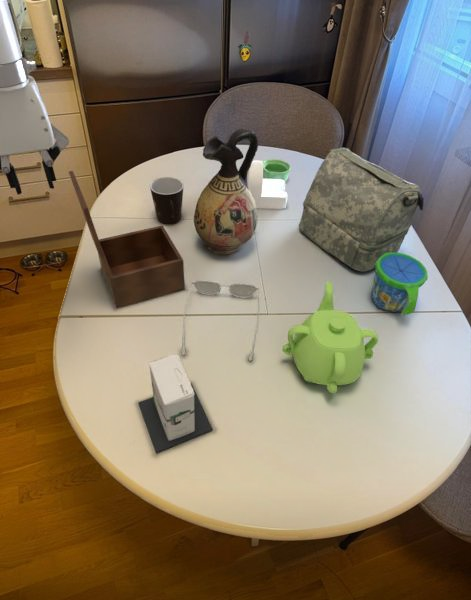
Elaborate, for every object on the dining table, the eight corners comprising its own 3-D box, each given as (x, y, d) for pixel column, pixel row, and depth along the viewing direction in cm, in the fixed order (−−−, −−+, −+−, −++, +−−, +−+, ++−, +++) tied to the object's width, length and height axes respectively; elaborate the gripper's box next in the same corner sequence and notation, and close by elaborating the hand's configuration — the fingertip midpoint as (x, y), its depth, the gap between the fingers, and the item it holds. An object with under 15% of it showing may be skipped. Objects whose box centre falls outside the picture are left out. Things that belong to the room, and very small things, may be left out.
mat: (156, 453, 68) (155, 452, 67) (138, 404, 74) (138, 402, 73) (212, 430, 71) (212, 428, 71) (191, 384, 77) (191, 382, 77)
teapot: (267, 351, 84) (274, 308, 75) (317, 321, 90) (329, 278, 81) (325, 410, 75) (340, 369, 66) (375, 372, 81) (396, 330, 72)
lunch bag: (409, 259, 107) (444, 182, 92) (359, 283, 99) (388, 204, 84) (339, 209, 122) (359, 135, 106) (291, 227, 114) (305, 150, 99)
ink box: (152, 400, 74) (146, 360, 66) (179, 390, 76) (176, 350, 67) (168, 442, 69) (163, 405, 60) (196, 431, 70) (195, 393, 62)
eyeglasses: (258, 297, 94) (260, 284, 91) (255, 362, 82) (257, 349, 79) (190, 291, 94) (190, 278, 92) (177, 355, 82) (176, 342, 79)
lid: (72, 170, 79) (68, 171, 79) (87, 207, 71) (83, 208, 71) (96, 237, 92) (92, 239, 91) (111, 276, 83) (107, 277, 83)
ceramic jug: (207, 270, 100) (208, 150, 79) (186, 233, 110) (181, 118, 88) (270, 254, 106) (287, 138, 84) (244, 221, 115) (253, 109, 94)
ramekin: (258, 171, 135) (259, 158, 132) (285, 171, 136) (287, 158, 133) (262, 186, 129) (264, 173, 126) (291, 185, 130) (293, 172, 127)
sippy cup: (421, 327, 91) (440, 294, 83) (373, 326, 90) (388, 293, 83) (399, 278, 101) (414, 245, 94) (357, 277, 101) (368, 244, 94)
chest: (165, 254, 103) (162, 225, 97) (184, 289, 95) (183, 260, 89) (101, 270, 98) (94, 240, 92) (116, 309, 90) (109, 278, 83)
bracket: (282, 190, 128) (287, 155, 119) (286, 209, 120) (292, 172, 112) (220, 188, 127) (221, 152, 118) (220, 207, 119) (221, 170, 111)
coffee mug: (158, 207, 118) (155, 175, 110) (188, 211, 117) (186, 179, 110) (146, 231, 109) (142, 198, 102) (178, 235, 109) (176, 202, 102)
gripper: (56, 59, 64) (81, 169, 77) (-71, 69, 58) (-21, 186, 71) (64, 75, 59) (89, 189, 72) (-72, 87, 54) (-18, 208, 67)
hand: (34, 186), depth 72 cm, fingers open, 4 cm apart
